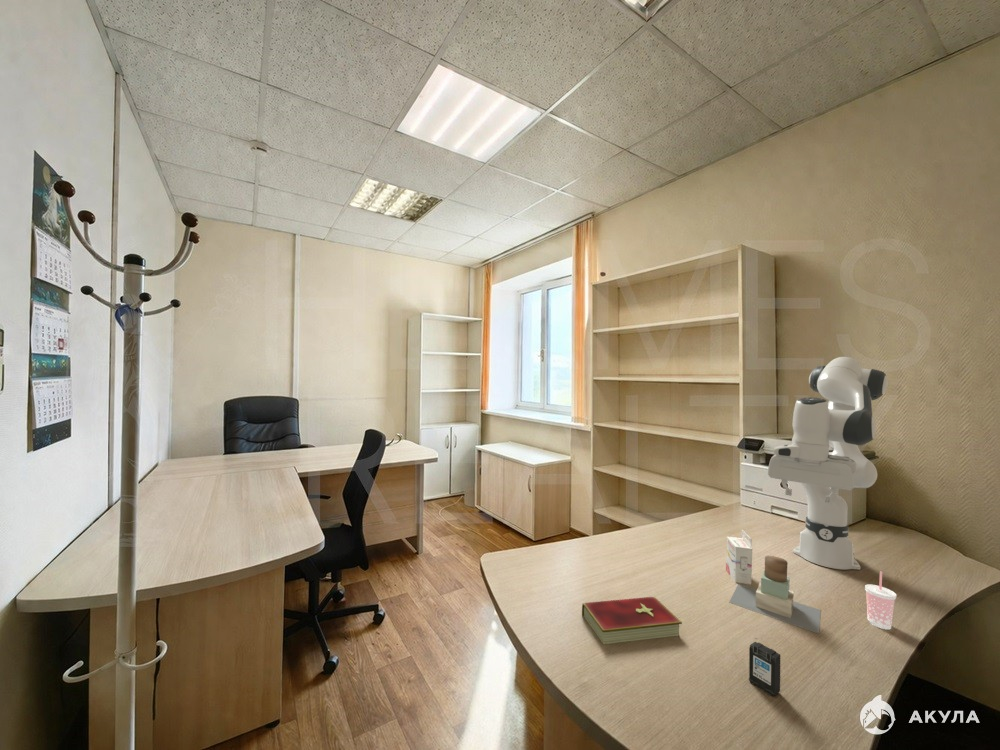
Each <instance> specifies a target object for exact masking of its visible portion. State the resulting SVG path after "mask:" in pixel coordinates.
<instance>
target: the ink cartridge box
mask: <svg viewBox="0 0 1000 750" xmlns="http://www.w3.org/2000/svg"><path fill="white" fill-rule="evenodd" d="M752 541H753V540H752V538H751V537H750V536H749V535H748V533H746V532H745V530H744V529H741V537H735V536H726V560H725V570H726V572H727V574H728V575H729V576H730V577H731V579H732V580H733V582H734V583H738V584H746V585H752V571H753V569H752V567H753V542H752Z"/></svg>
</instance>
